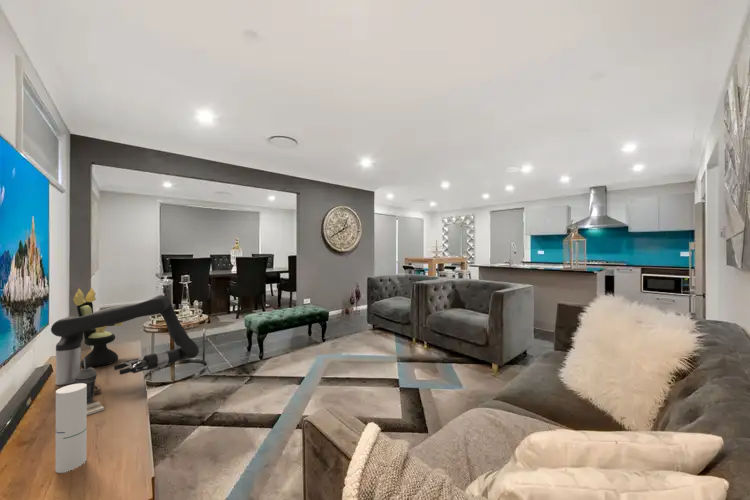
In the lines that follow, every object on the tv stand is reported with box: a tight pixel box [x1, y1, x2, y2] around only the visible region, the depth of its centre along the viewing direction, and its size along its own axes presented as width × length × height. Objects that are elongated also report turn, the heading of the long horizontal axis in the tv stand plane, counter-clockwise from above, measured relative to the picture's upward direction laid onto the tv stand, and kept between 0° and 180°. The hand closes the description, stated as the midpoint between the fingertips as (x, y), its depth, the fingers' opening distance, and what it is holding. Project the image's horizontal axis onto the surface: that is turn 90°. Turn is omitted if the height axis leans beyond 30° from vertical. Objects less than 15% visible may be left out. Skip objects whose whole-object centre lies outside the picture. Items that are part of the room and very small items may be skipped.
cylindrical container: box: [55, 383, 88, 474], centre depth 100 cm, size 7×7×25 cm
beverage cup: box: [75, 357, 97, 404], centre depth 139 cm, size 7×7×20 cm
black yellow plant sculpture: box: [72, 287, 124, 368], centre depth 184 cm, size 19×22×45 cm
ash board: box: [87, 400, 105, 416], centre depth 131 cm, size 9×12×1 cm
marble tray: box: [94, 382, 102, 396], centre depth 147 cm, size 9×9×4 cm
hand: (116, 370), depth 148 cm, fingers open, 8 cm apart
